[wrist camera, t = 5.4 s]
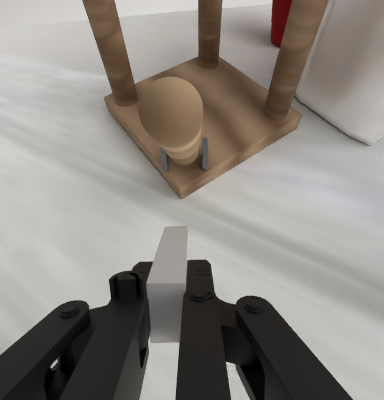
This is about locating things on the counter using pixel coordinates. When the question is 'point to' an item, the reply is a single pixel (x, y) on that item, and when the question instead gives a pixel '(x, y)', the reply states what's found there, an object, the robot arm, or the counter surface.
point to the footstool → (211, 90)
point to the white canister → (348, 69)
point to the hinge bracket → (165, 156)
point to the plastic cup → (279, 20)
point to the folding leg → (173, 117)
